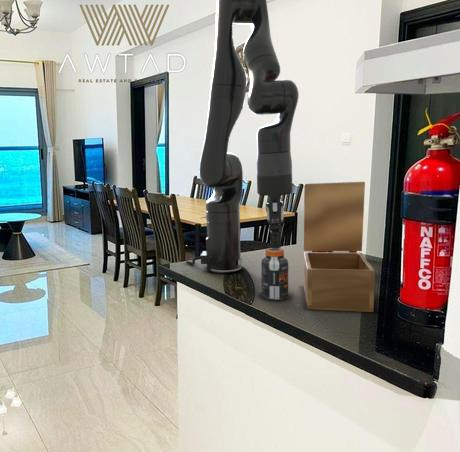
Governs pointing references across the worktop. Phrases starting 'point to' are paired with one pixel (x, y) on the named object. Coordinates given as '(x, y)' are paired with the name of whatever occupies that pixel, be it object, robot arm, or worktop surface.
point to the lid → (333, 216)
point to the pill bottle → (274, 274)
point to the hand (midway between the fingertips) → (275, 243)
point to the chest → (338, 281)
